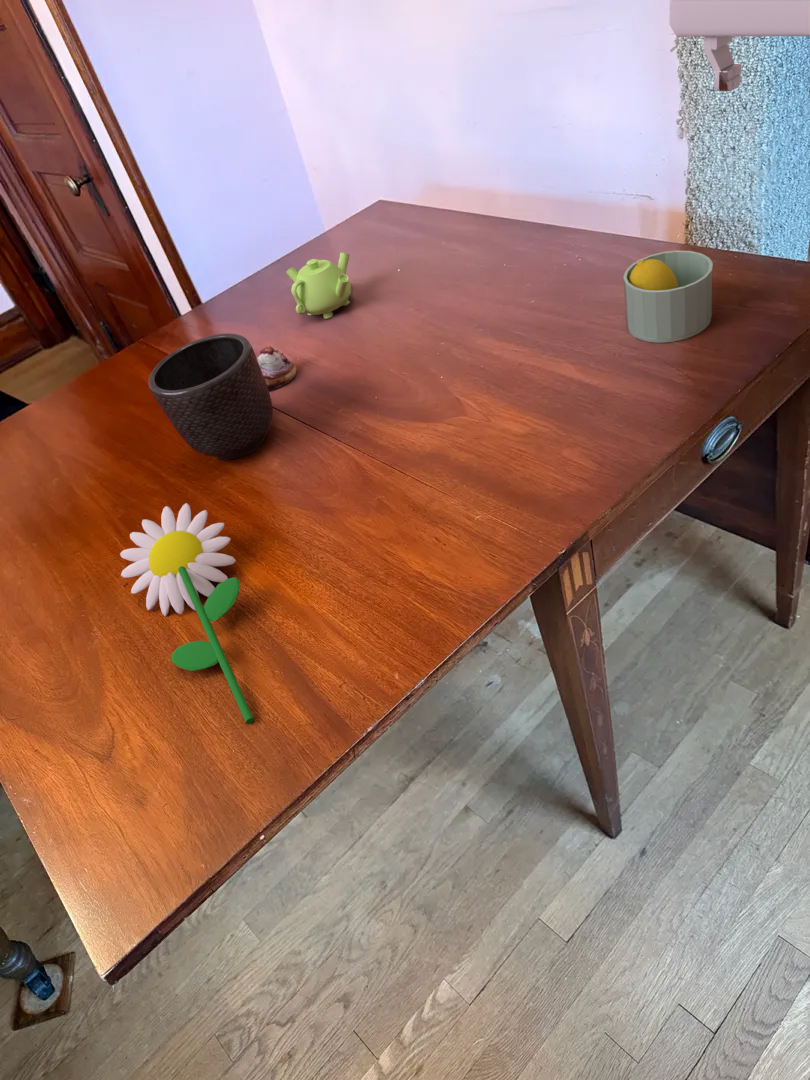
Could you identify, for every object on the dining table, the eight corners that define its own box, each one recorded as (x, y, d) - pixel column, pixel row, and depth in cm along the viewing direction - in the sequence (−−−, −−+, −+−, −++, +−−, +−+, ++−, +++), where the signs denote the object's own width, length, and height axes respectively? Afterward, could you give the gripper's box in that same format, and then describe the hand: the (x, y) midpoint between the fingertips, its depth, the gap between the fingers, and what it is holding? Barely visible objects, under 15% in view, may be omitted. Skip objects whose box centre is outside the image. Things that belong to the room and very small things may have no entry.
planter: (250, 479, 96) (207, 396, 88) (173, 470, 103) (125, 391, 94) (305, 414, 104) (270, 332, 96) (229, 409, 111) (190, 332, 102)
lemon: (638, 325, 99) (610, 275, 95) (668, 297, 99) (642, 247, 95) (665, 328, 94) (637, 276, 90) (697, 299, 94) (670, 245, 90)
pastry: (306, 367, 114) (295, 338, 111) (276, 396, 110) (263, 367, 107) (269, 362, 118) (257, 334, 115) (238, 390, 114) (225, 362, 111)
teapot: (295, 332, 124) (276, 285, 118) (298, 301, 132) (281, 256, 126) (359, 314, 122) (343, 265, 116) (359, 284, 131) (344, 237, 125)
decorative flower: (320, 696, 71) (219, 510, 90) (302, 673, 67) (201, 484, 86) (202, 771, 69) (125, 565, 88) (177, 751, 66) (102, 541, 84)
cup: (729, 312, 95) (731, 260, 90) (672, 351, 92) (671, 299, 88) (664, 293, 102) (663, 244, 98) (610, 329, 99) (606, 280, 95)
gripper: (650, -82, 63) (655, 98, 72) (895, -118, 49) (861, 113, 58) (702, -105, 64) (700, 74, 74) (953, -146, 50) (911, 82, 59)
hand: (772, 91), depth 66 cm, fingers open, 8 cm apart
